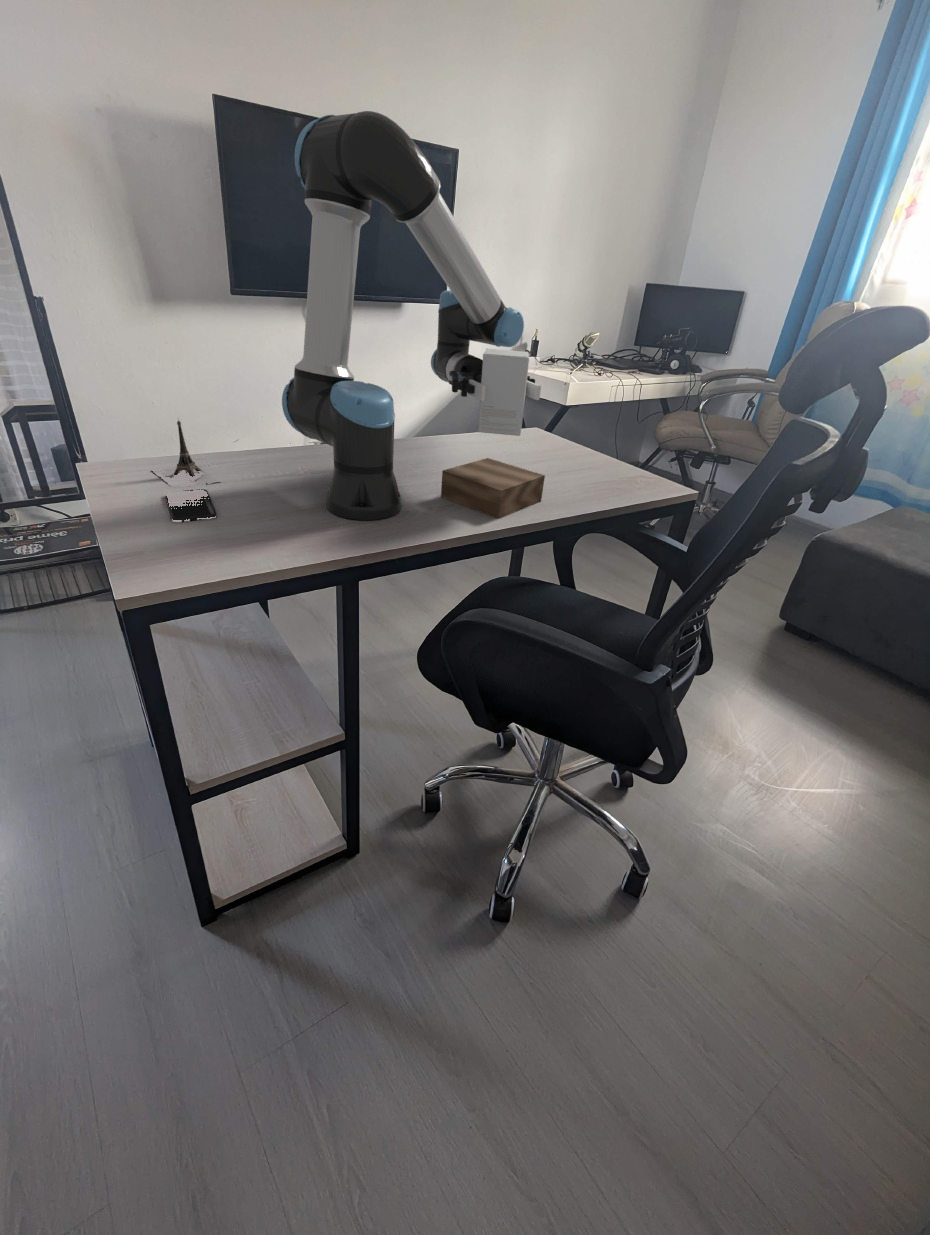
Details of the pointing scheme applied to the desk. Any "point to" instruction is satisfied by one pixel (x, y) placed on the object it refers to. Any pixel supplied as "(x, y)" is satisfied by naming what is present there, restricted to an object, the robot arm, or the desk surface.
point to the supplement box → (503, 391)
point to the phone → (193, 509)
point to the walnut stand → (492, 487)
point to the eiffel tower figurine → (184, 456)
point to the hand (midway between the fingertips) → (511, 393)
